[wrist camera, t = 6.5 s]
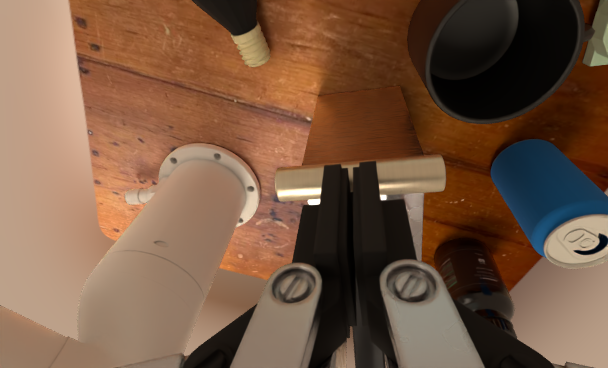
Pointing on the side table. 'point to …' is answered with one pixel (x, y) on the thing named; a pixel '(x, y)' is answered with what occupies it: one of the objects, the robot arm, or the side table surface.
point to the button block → (598, 38)
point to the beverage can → (553, 203)
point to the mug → (495, 53)
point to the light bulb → (240, 27)
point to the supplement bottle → (475, 281)
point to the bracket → (366, 144)
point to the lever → (392, 180)
